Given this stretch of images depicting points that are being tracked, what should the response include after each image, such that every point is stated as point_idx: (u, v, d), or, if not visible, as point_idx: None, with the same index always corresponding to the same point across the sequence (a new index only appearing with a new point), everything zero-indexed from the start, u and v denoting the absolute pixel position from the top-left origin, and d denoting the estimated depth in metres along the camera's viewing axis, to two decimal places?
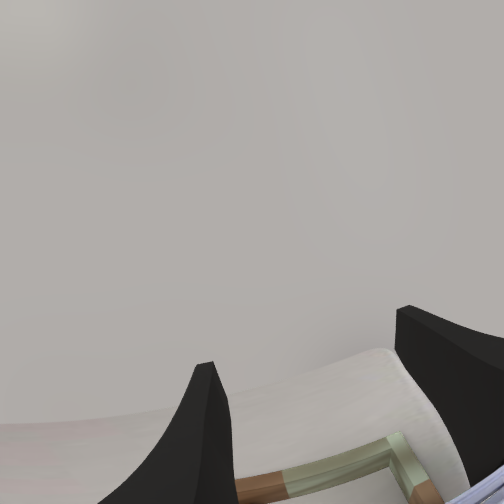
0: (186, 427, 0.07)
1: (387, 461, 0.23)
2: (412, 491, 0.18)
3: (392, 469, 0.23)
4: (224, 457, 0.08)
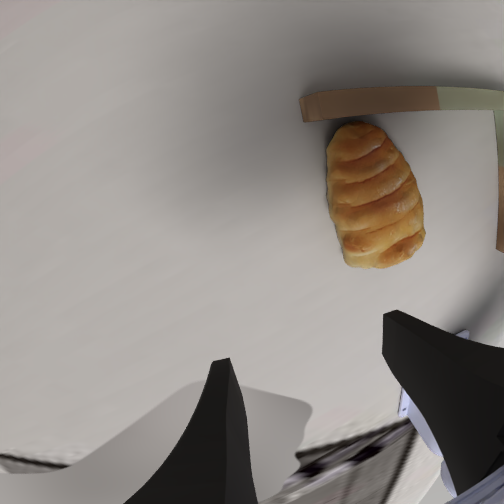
0: (208, 424, 0.07)
1: (501, 110, 0.18)
2: None
3: (498, 119, 0.19)
4: (243, 454, 0.08)
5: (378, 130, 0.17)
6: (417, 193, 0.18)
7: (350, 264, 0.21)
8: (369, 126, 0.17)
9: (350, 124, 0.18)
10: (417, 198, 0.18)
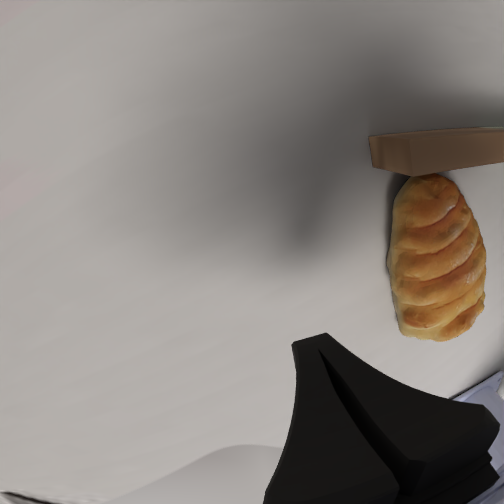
0: (318, 398, 0.07)
1: None
2: None
3: None
4: None
5: (452, 186, 0.13)
6: (485, 257, 0.14)
7: (406, 334, 0.17)
8: (443, 180, 0.13)
9: (422, 176, 0.14)
10: None
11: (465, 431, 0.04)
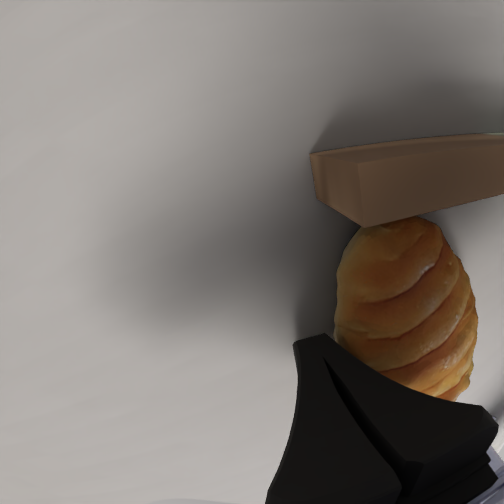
0: (320, 397, 0.07)
1: None
2: None
3: None
4: None
5: (432, 233, 0.09)
6: (476, 327, 0.10)
7: None
8: (417, 226, 0.09)
9: None
10: (475, 334, 0.10)
11: (463, 433, 0.04)
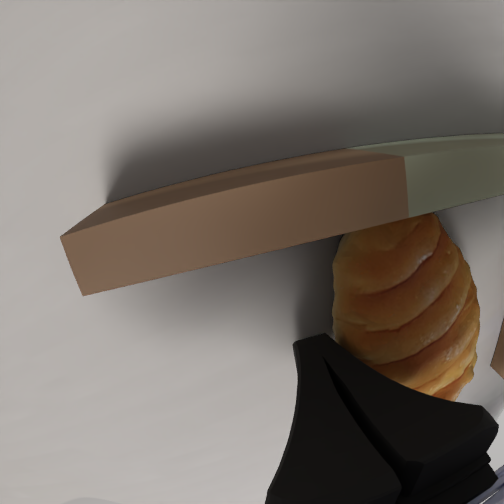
0: (320, 397, 0.07)
1: None
2: None
3: None
4: None
5: (429, 222, 0.09)
6: (478, 317, 0.10)
7: None
8: None
9: None
10: (477, 325, 0.10)
11: (463, 432, 0.04)
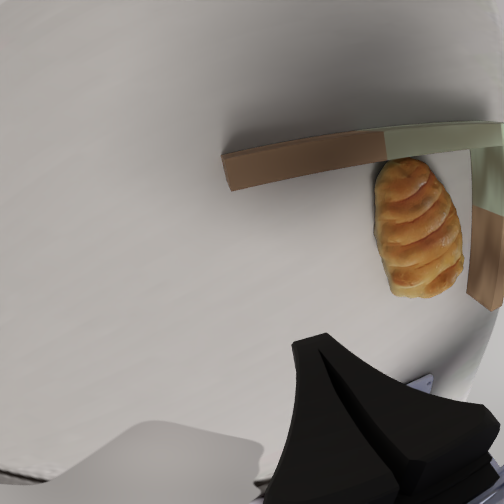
0: (318, 398, 0.07)
1: None
2: (494, 213, 0.18)
3: (474, 152, 0.18)
4: None
5: (423, 166, 0.17)
6: (458, 224, 0.17)
7: (397, 294, 0.20)
8: (414, 162, 0.17)
9: (396, 160, 0.17)
10: (458, 229, 0.18)
11: (465, 432, 0.04)
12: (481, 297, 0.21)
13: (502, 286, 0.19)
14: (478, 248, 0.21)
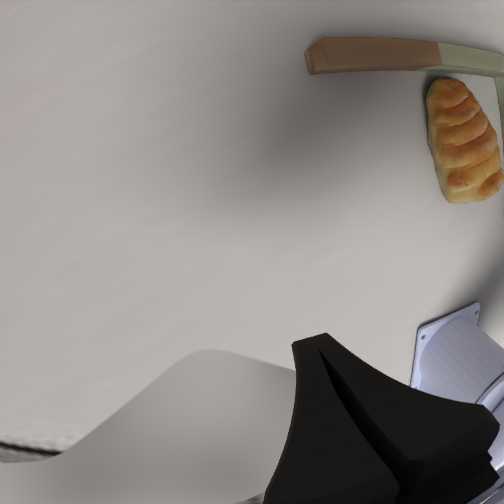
0: (318, 398, 0.07)
1: (501, 76, 0.17)
2: None
3: (499, 86, 0.18)
4: None
5: (463, 84, 0.16)
6: (496, 136, 0.17)
7: (452, 200, 0.20)
8: (456, 81, 0.17)
9: (442, 78, 0.17)
10: None
11: (465, 431, 0.04)
12: None
13: None
14: None
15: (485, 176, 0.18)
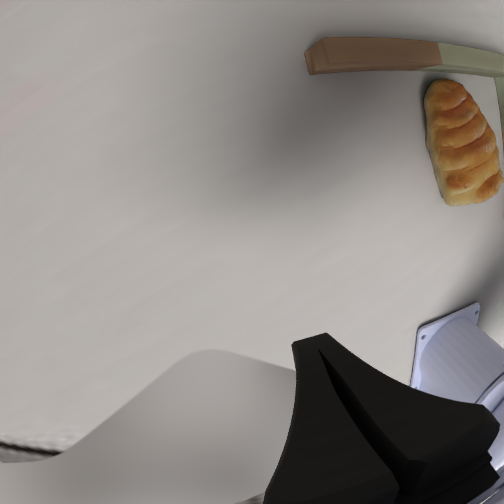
0: (318, 398, 0.07)
1: (501, 76, 0.17)
2: None
3: (499, 86, 0.18)
4: None
5: (461, 86, 0.17)
6: (495, 138, 0.17)
7: (450, 203, 0.20)
8: (454, 82, 0.17)
9: (440, 80, 0.17)
10: (495, 142, 0.17)
11: (465, 431, 0.04)
12: None
13: None
14: None
15: (484, 178, 0.18)
